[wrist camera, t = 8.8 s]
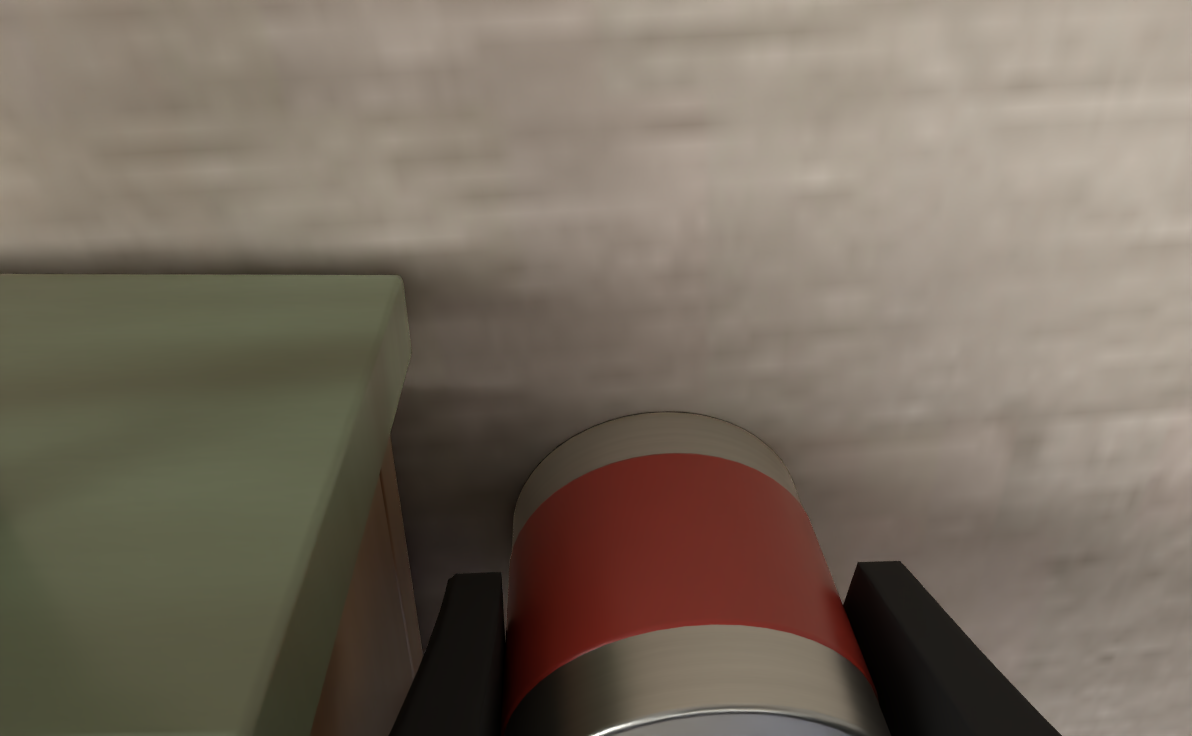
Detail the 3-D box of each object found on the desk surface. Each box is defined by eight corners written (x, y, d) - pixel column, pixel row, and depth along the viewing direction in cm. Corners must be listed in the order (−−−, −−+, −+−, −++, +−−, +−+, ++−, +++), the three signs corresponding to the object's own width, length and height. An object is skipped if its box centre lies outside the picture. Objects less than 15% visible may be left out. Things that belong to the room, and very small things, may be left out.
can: (822, 407, 12) (967, 701, 8) (772, 612, 15) (861, 913, 11) (507, 408, 12) (486, 715, 8) (514, 618, 14) (502, 929, 10)
